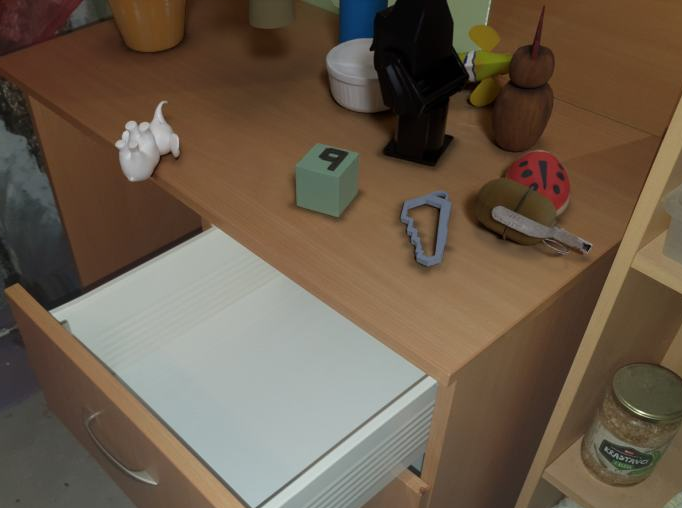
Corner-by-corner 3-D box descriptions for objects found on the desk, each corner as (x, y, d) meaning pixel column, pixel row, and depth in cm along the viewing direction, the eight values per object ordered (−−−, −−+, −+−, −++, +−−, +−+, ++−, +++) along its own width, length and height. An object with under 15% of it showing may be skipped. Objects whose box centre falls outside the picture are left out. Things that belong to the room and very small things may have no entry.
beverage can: (384, 48, 104) (390, -42, 95) (384, 69, 99) (390, -24, 91) (339, 48, 105) (340, -41, 96) (337, 68, 100) (338, -24, 91)
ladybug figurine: (560, 168, 80) (569, 141, 77) (574, 228, 74) (585, 200, 71) (498, 165, 80) (506, 138, 78) (507, 224, 74) (515, 196, 71)
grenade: (472, 213, 76) (578, 268, 73) (456, 225, 71) (569, 283, 68) (498, 162, 73) (610, 216, 70) (483, 170, 68) (603, 228, 65)
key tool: (393, 268, 71) (445, 269, 69) (392, 261, 70) (445, 261, 69) (405, 198, 79) (452, 197, 77) (405, 191, 78) (452, 190, 77)
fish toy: (515, 102, 85) (536, 100, 94) (514, 14, 82) (536, 21, 91) (395, 114, 92) (425, 112, 102) (391, 34, 90) (423, 39, 99)
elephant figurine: (131, 81, 84) (149, 124, 90) (88, 154, 79) (109, 195, 84) (188, 85, 82) (203, 128, 87) (148, 160, 77) (166, 202, 82)
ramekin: (343, 124, 89) (344, 84, 85) (313, 85, 97) (313, 46, 93) (426, 108, 91) (431, 67, 87) (391, 70, 99) (393, 31, 95)
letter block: (338, 217, 76) (338, 175, 72) (296, 206, 78) (294, 163, 74) (358, 193, 79) (359, 151, 75) (317, 182, 81) (316, 140, 77)
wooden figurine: (506, 124, 88) (531, -4, 77) (551, 138, 85) (583, 7, 75) (479, 148, 84) (501, 17, 74) (524, 164, 82) (555, 30, 71)
